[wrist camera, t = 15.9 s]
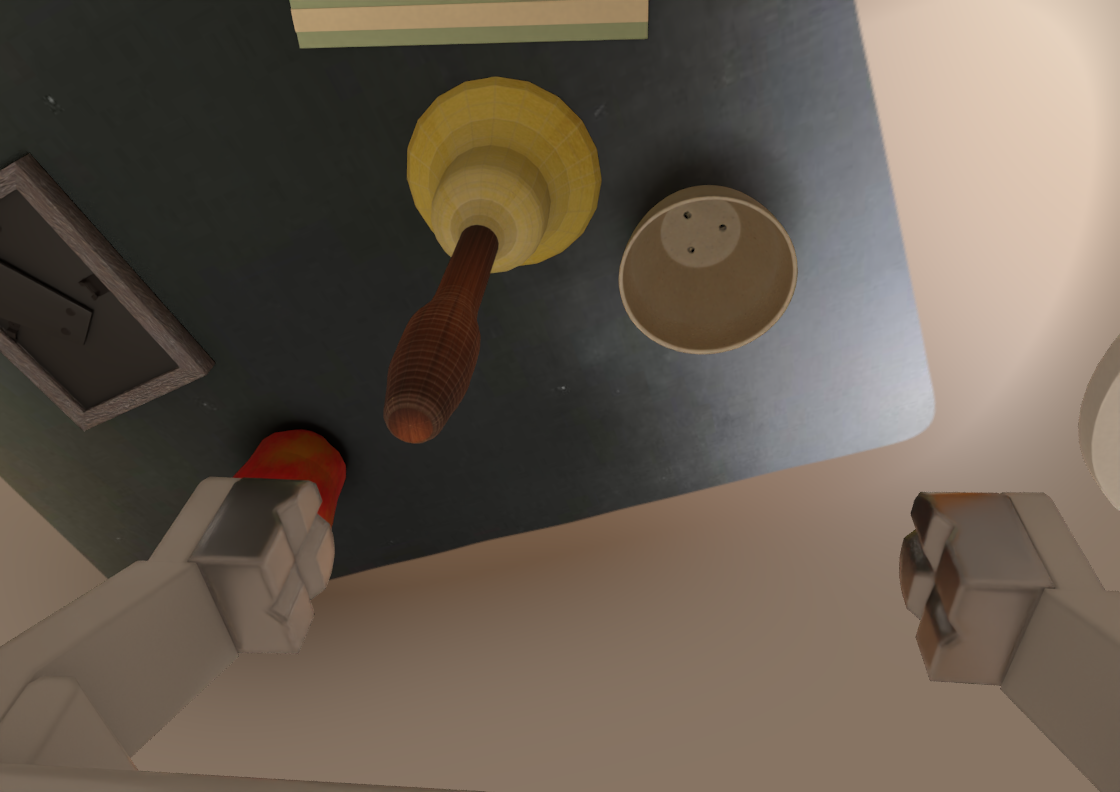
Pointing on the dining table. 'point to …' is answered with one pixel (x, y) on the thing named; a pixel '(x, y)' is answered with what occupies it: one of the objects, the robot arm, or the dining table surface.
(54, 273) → the picture frame
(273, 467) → the apple
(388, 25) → the cloth
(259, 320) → the dining table surface
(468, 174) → the handbell
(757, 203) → the flower pot
